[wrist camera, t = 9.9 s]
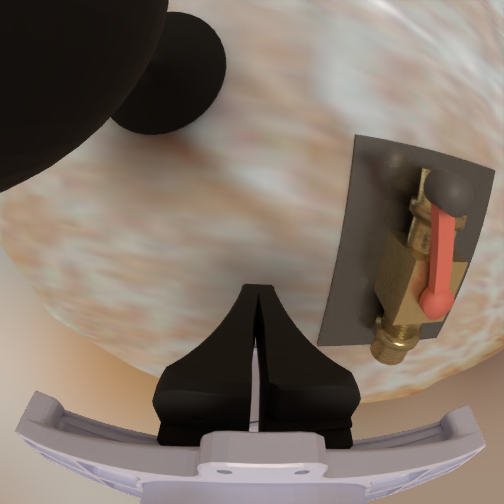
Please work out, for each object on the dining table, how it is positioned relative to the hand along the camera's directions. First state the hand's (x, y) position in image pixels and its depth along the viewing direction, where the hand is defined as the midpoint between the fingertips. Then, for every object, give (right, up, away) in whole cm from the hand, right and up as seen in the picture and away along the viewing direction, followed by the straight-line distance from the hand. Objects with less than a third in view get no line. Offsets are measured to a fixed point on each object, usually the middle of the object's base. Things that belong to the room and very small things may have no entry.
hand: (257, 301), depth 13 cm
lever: (+13, +3, +3) cm, 13 cm away
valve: (+14, +2, +11) cm, 18 cm away
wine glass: (-7, +16, +4) cm, 18 cm away
